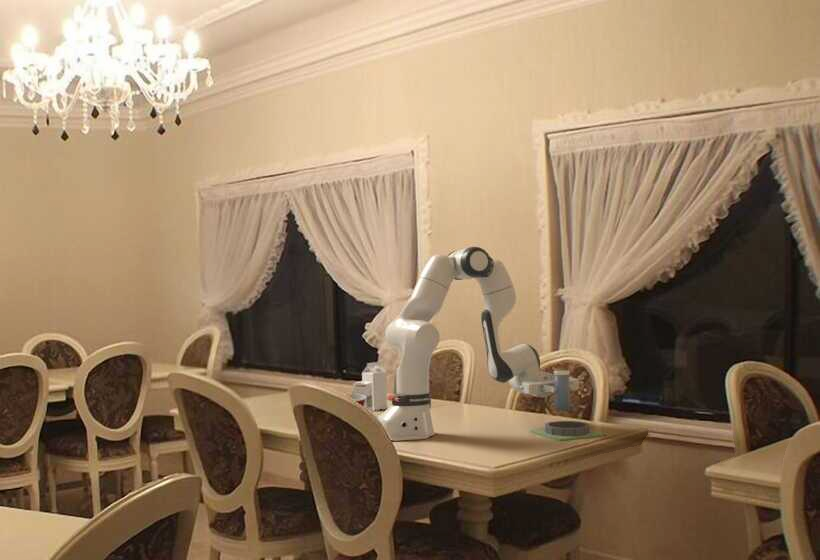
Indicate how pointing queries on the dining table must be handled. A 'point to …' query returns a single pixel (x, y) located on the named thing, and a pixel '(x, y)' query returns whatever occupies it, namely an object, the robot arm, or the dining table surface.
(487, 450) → the dining table surface
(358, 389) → the syrup box
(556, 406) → the ball tube
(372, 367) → the milk carton
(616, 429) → the dining table surface
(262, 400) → the dining table surface
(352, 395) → the plastic cup
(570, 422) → the practice green
